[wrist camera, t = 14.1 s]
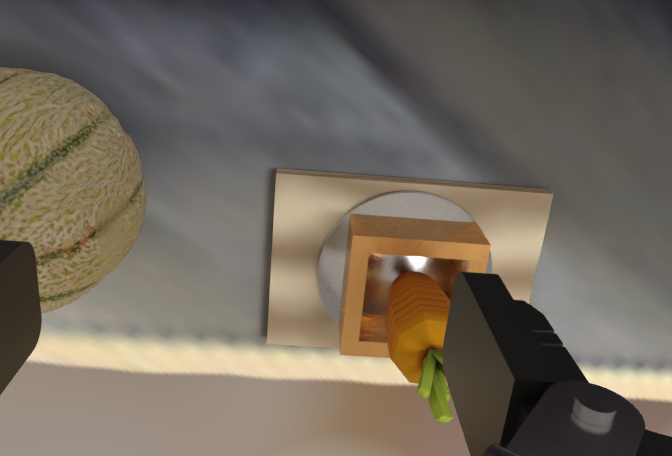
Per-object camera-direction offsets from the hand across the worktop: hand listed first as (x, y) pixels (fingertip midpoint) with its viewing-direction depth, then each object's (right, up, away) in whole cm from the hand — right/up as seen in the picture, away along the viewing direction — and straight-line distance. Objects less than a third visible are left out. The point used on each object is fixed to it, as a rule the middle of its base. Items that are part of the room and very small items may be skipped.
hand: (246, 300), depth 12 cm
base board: (+7, -2, +37) cm, 37 cm away
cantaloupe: (-18, +6, +33) cm, 38 cm away
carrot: (+7, -2, +35) cm, 36 cm away
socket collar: (+7, -2, +35) cm, 36 cm away
